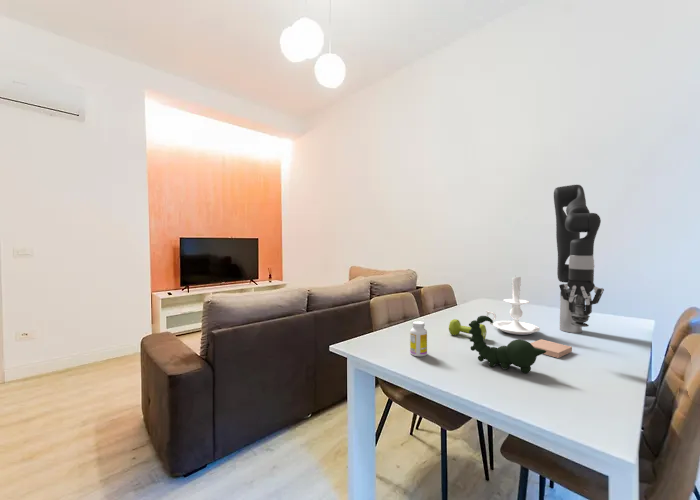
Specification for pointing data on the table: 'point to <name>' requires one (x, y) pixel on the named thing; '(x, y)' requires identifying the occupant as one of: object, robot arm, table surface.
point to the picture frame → (552, 348)
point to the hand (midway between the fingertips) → (580, 313)
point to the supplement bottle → (418, 339)
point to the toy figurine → (503, 349)
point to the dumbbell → (463, 328)
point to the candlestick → (515, 314)
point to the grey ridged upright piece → (580, 312)
